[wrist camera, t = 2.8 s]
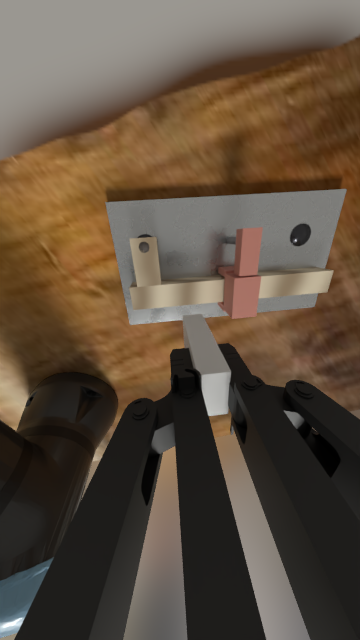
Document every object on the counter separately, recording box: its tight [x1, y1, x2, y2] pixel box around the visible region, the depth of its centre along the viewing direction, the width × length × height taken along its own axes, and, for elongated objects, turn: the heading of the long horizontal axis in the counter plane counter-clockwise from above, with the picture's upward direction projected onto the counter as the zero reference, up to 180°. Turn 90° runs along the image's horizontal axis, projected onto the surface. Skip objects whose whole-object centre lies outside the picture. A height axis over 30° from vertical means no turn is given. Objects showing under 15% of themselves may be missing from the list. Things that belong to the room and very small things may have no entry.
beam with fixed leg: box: [129, 237, 334, 310], centre depth 24 cm, size 27×8×3 cm, turn 93°
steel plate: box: [105, 189, 347, 325], centre depth 26 cm, size 30×16×1 cm, turn 93°
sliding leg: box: [218, 227, 263, 319], centre depth 22 cm, size 3×10×6 cm, turn 3°
